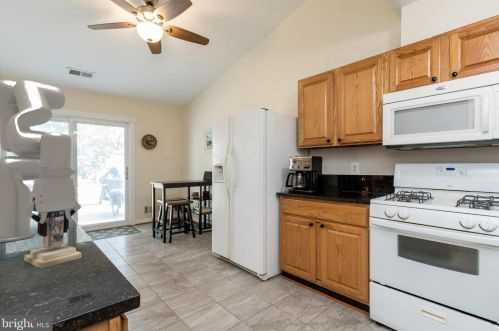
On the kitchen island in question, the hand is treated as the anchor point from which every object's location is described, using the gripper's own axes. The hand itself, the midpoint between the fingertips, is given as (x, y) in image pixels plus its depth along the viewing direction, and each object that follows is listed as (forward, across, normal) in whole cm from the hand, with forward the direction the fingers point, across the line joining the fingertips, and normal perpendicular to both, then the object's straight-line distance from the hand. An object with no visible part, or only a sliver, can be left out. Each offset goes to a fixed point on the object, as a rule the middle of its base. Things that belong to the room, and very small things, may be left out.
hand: (53, 233), depth 75 cm
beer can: (+4, 0, 0) cm, 4 cm away
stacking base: (+8, 0, 0) cm, 8 cm away
